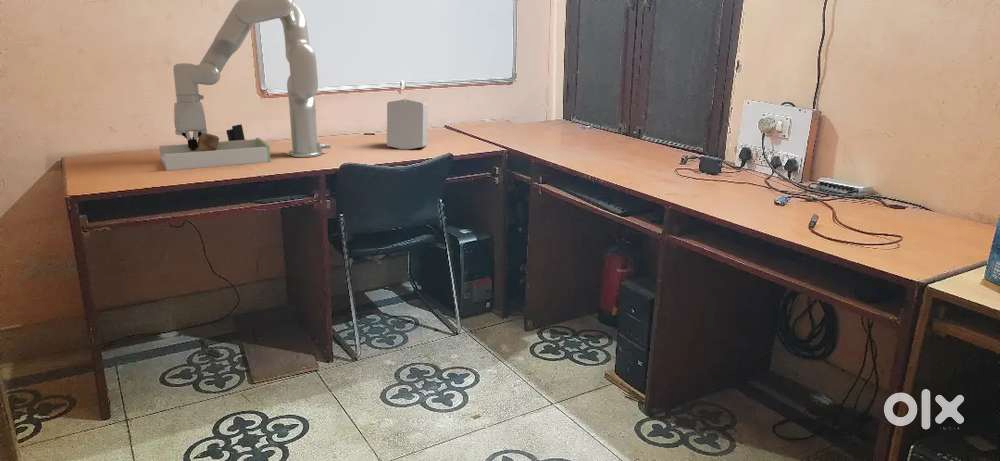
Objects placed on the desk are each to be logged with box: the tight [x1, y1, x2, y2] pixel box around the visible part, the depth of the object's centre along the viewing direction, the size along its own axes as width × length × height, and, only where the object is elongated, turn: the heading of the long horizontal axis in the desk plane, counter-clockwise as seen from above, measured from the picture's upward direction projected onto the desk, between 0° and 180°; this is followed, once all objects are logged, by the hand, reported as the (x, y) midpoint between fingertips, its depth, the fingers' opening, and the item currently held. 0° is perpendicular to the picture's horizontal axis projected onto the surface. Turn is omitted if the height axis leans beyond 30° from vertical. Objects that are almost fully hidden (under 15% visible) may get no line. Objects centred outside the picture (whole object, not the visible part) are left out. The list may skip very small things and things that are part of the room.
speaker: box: [226, 124, 246, 141], centre depth 282 cm, size 8×6×10 cm
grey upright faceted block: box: [386, 98, 429, 150], centre depth 296 cm, size 15×15×20 cm
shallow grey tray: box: [158, 137, 271, 171], centre depth 262 cm, size 35×18×6 cm, turn 120°
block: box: [197, 132, 220, 151], centre depth 263 cm, size 6×6×6 cm
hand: (193, 150), depth 261 cm, fingers closed
